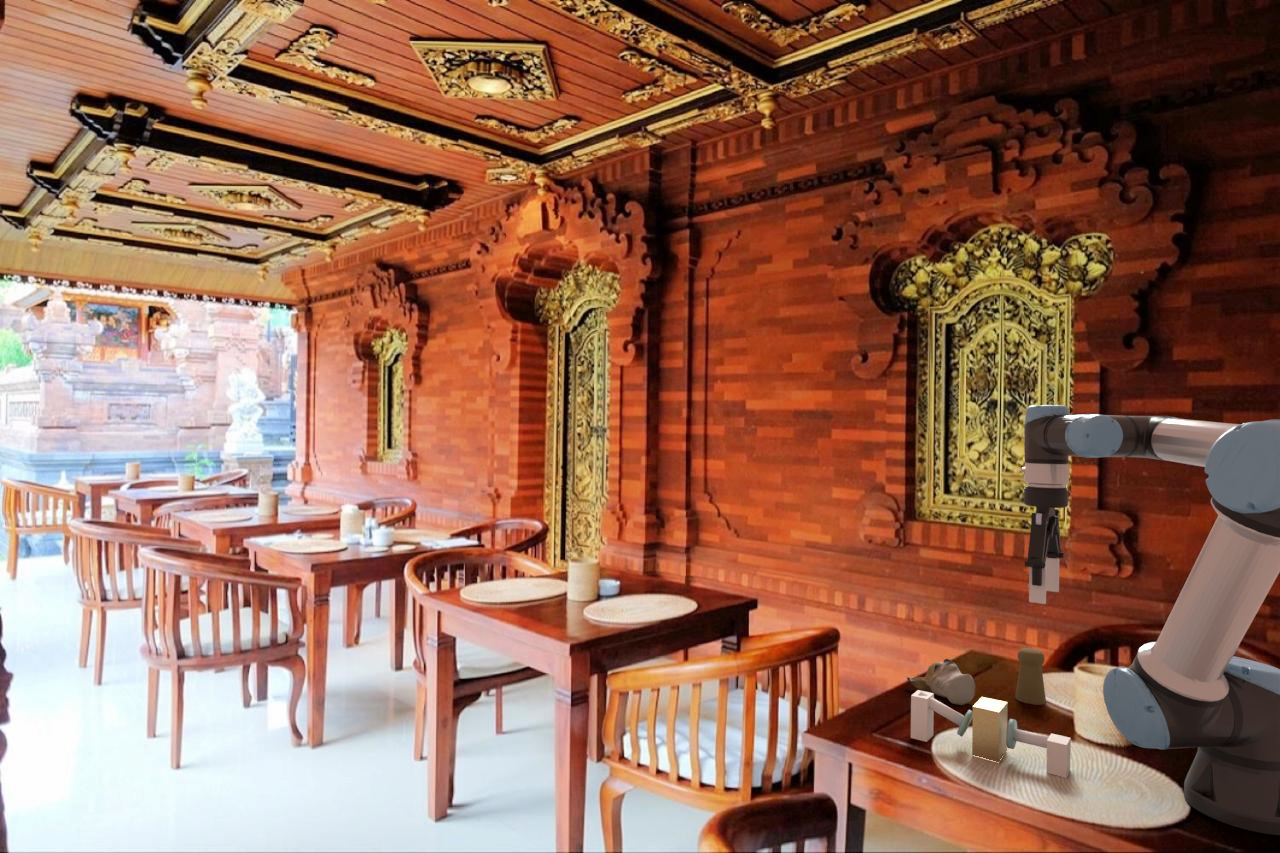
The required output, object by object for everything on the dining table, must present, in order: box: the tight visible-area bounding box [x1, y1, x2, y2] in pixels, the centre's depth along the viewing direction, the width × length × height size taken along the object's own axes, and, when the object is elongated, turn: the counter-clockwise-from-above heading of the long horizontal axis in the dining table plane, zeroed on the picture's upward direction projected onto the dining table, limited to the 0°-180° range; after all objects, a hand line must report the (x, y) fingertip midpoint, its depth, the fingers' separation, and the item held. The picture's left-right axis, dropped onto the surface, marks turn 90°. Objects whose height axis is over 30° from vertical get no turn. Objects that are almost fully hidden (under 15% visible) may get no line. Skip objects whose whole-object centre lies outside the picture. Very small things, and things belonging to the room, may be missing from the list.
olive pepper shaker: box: [1014, 647, 1047, 706], centre depth 166 cm, size 6×6×11 cm
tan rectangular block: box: [971, 696, 1009, 763], centre depth 137 cm, size 4×6×9 cm
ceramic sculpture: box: [906, 658, 976, 706], centre depth 167 cm, size 11×9×15 cm
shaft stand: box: [910, 689, 1072, 779], centre depth 138 cm, size 26×5×8 cm, turn 52°
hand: (1044, 596), depth 146 cm, fingers open, 13 cm apart
